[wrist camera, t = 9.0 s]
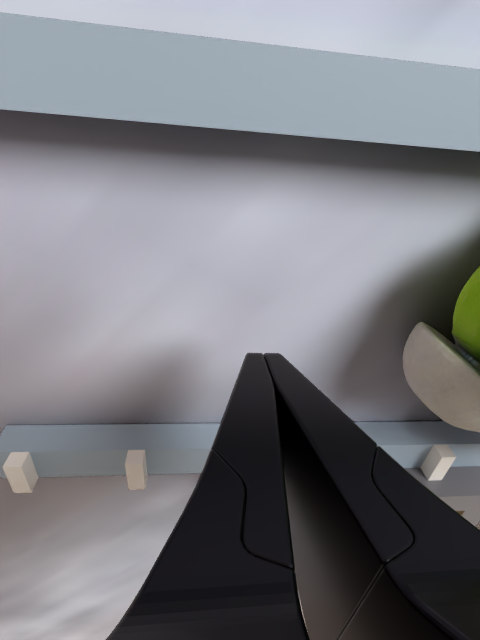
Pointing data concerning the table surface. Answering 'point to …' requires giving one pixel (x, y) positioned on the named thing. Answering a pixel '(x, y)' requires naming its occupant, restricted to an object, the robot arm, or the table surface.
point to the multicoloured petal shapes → (449, 362)
